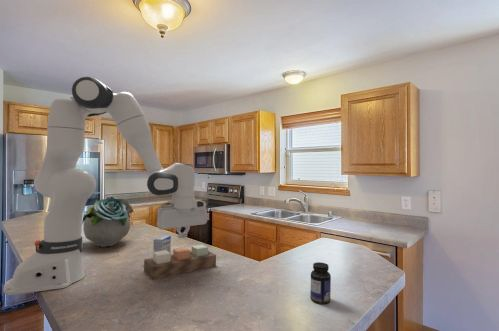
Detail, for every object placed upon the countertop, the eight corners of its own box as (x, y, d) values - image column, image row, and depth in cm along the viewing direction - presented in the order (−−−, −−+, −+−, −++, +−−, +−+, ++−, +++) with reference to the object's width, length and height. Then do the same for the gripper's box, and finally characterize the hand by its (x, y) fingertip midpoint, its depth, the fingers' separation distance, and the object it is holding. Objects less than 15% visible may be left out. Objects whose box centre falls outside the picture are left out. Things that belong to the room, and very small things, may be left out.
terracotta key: (177, 263, 108) (178, 252, 108) (172, 260, 112) (173, 249, 112) (189, 261, 111) (190, 250, 111) (184, 258, 115) (184, 247, 115)
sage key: (196, 260, 113) (197, 249, 113) (191, 256, 117) (191, 246, 117) (207, 258, 116) (207, 247, 116) (202, 255, 120) (202, 244, 120)
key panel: (152, 279, 100) (152, 267, 100) (143, 271, 108) (144, 259, 108) (215, 266, 115) (216, 255, 115) (204, 259, 123) (204, 249, 123)
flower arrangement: (141, 239, 154) (142, 195, 154) (118, 253, 129) (120, 200, 129) (96, 238, 154) (97, 194, 154) (65, 251, 129) (67, 198, 129)
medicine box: (162, 259, 122) (162, 239, 122) (152, 258, 123) (153, 238, 123) (170, 254, 129) (171, 235, 130) (161, 253, 130) (162, 234, 130)
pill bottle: (326, 295, 90) (327, 261, 91) (333, 304, 84) (333, 268, 84) (308, 295, 90) (308, 261, 90) (312, 304, 84) (313, 267, 84)
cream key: (157, 267, 103) (157, 255, 103) (152, 264, 107) (153, 252, 107) (170, 265, 106) (170, 253, 106) (165, 261, 110) (165, 250, 110)
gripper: (160, 206, 103) (159, 243, 103) (209, 202, 115) (208, 235, 115) (154, 204, 108) (154, 239, 108) (202, 200, 120) (201, 232, 120)
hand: (182, 237), depth 112 cm, fingers closed
